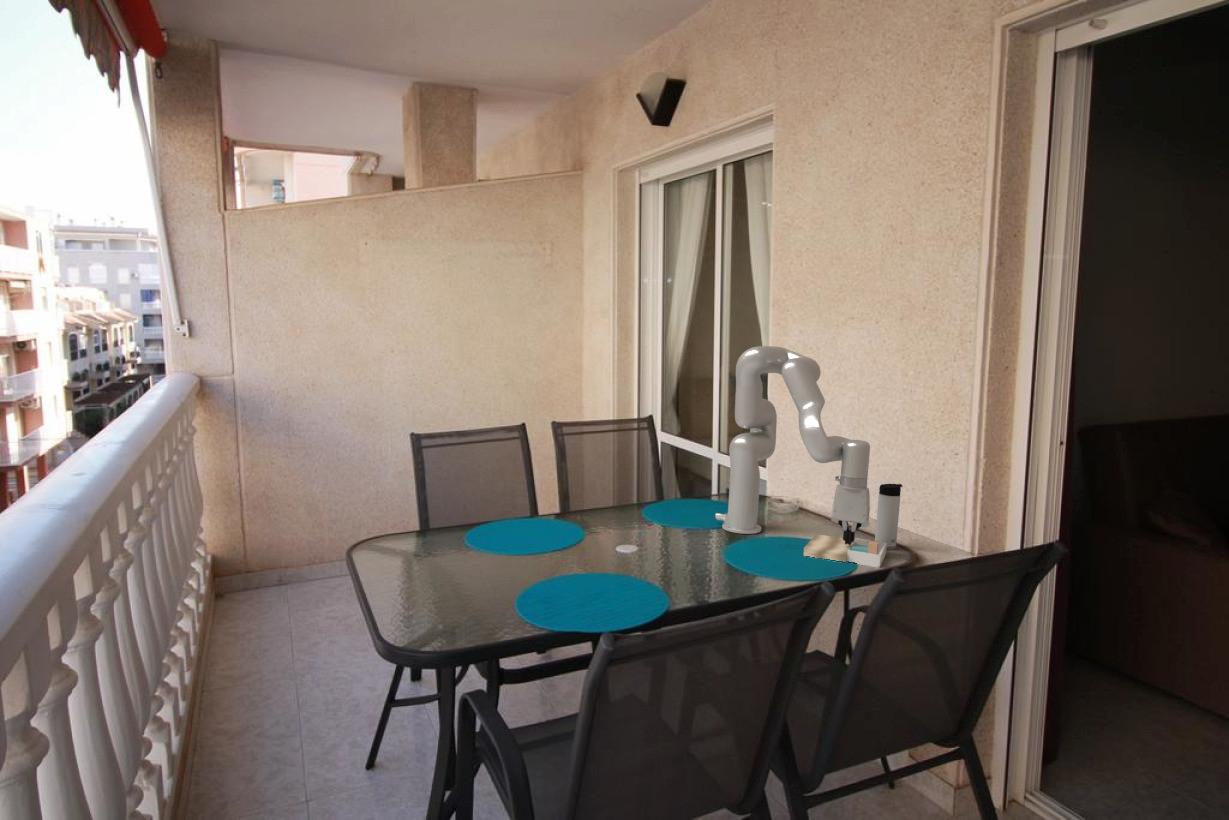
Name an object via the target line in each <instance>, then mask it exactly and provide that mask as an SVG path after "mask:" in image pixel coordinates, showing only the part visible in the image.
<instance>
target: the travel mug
mask: <svg viewBox="0 0 1229 820" xmlns="http://www.w3.org/2000/svg"><path fill="white" fill-rule="evenodd" d="M901 488H903V484H901V483H883V484H880V486H879V489H878V490H879V491H878V501H877V509H876V522H875V523H876V524H875V533H874V534H875V535H874V541H879V542H886V543H887V549H886V551H893V549H894V550H896V547H897V540H898V539H897V537H898V529H899V528H898V526H899V517H900V516H899V515H900V506H901V505H900V504H901Z"/></svg>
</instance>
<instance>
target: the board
mask: <svg viewBox="0 0 1229 820" xmlns="http://www.w3.org/2000/svg"><path fill="white" fill-rule="evenodd" d="M853 544H855V539H854V542H852V543H851V545H849V544H845V541H844V540H843V537H837V536H830V535H825V534H824V535H822V534H815V535H814V536H813V537H812V538H811V539H810V540H809V541H808V543H806V545H805V546H804V547H803V557H806V556H810V557H809V558H812V557H815V558H814V559H818V558H823V559H822V560H824V559H830V560H836V561H843V562H846V561H847V551H848V550H851V547H852V545H853ZM830 560H829V561H830ZM836 561H835V562H836ZM846 563H847V562H846Z"/></svg>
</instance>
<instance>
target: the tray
mask: <svg viewBox="0 0 1229 820" xmlns="http://www.w3.org/2000/svg"><path fill="white" fill-rule="evenodd" d="M854 540H855V544H857V545H864V546H868V543H869V541H870V540H871V539H865V538H858V537H855V538H854ZM886 549H887V543H886V542H879V548H878V555H877V554H870V553H864V552H858V551H852V550H848V551H847V561H849V562H855V563H857V564H856V565H861V566H866V567H872V568H879V569H880V568H881V566H882V564H883V561H884V559H885V557H886V555H887V550H886Z"/></svg>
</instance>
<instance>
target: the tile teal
mask: <svg viewBox="0 0 1229 820" xmlns="http://www.w3.org/2000/svg"><path fill="white" fill-rule="evenodd" d="M851 550H852V551H858V552H864V553H867V551H868V546H864V545H857V544H853V545H852V547H851Z"/></svg>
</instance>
